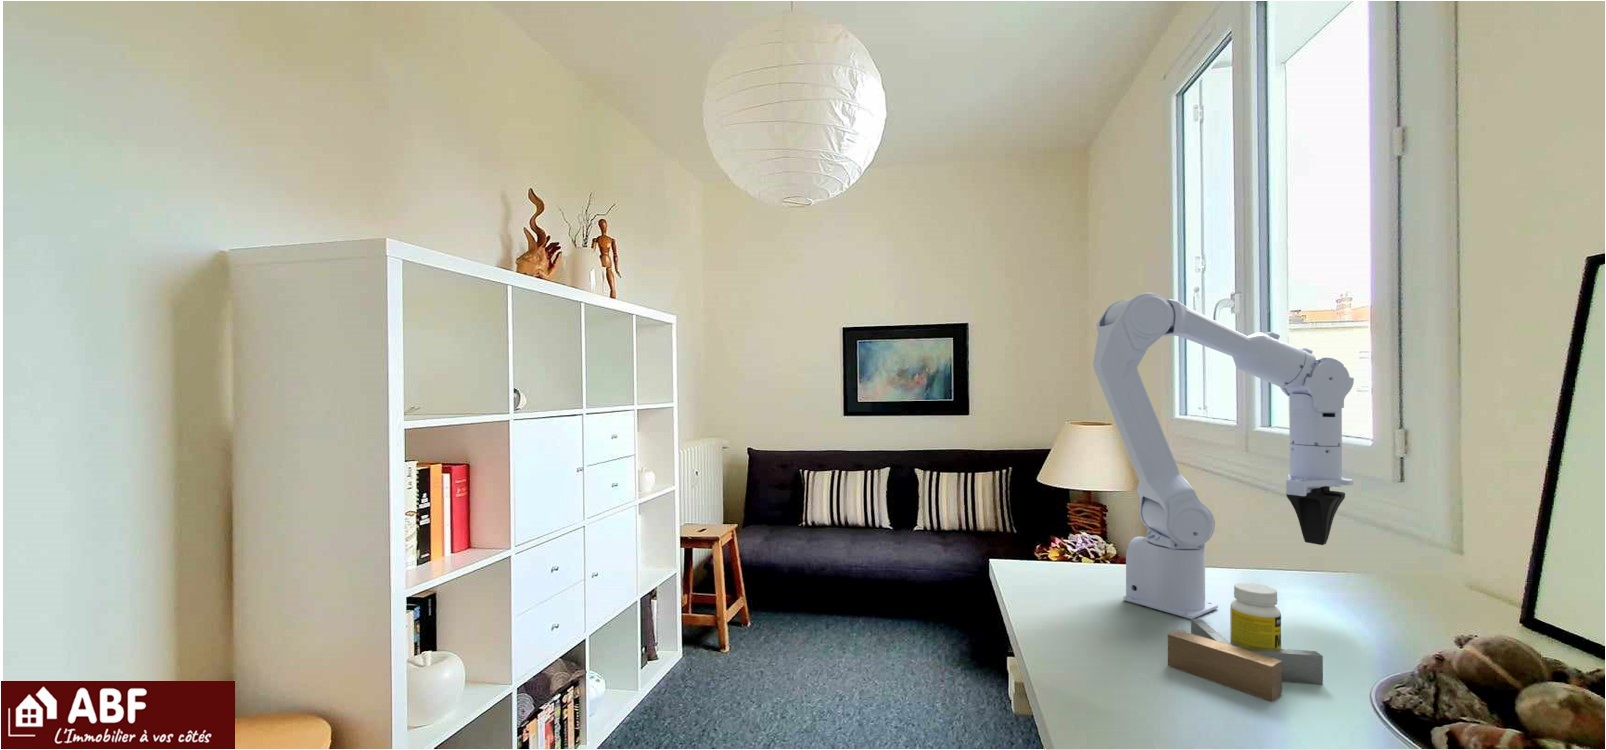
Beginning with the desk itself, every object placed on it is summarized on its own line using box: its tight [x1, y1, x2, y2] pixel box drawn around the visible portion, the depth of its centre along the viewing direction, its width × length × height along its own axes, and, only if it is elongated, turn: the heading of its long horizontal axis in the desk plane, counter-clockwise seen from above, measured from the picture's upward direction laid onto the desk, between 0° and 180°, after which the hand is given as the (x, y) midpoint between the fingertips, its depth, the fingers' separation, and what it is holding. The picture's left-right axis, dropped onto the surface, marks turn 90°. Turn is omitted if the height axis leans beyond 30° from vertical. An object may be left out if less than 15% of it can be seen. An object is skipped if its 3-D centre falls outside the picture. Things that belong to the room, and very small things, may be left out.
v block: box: [1167, 618, 1324, 703], centre depth 71 cm, size 13×10×4 cm
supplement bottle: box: [1229, 582, 1282, 649], centre depth 74 cm, size 5×5×8 cm
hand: (1315, 543), depth 90 cm, fingers closed
